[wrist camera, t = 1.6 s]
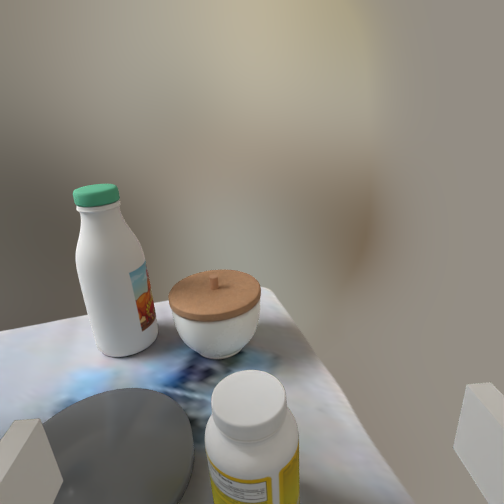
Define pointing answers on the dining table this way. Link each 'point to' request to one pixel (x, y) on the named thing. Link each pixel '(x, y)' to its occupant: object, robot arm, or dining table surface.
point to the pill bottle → (252, 442)
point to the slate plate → (122, 449)
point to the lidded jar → (216, 311)
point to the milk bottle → (113, 275)
